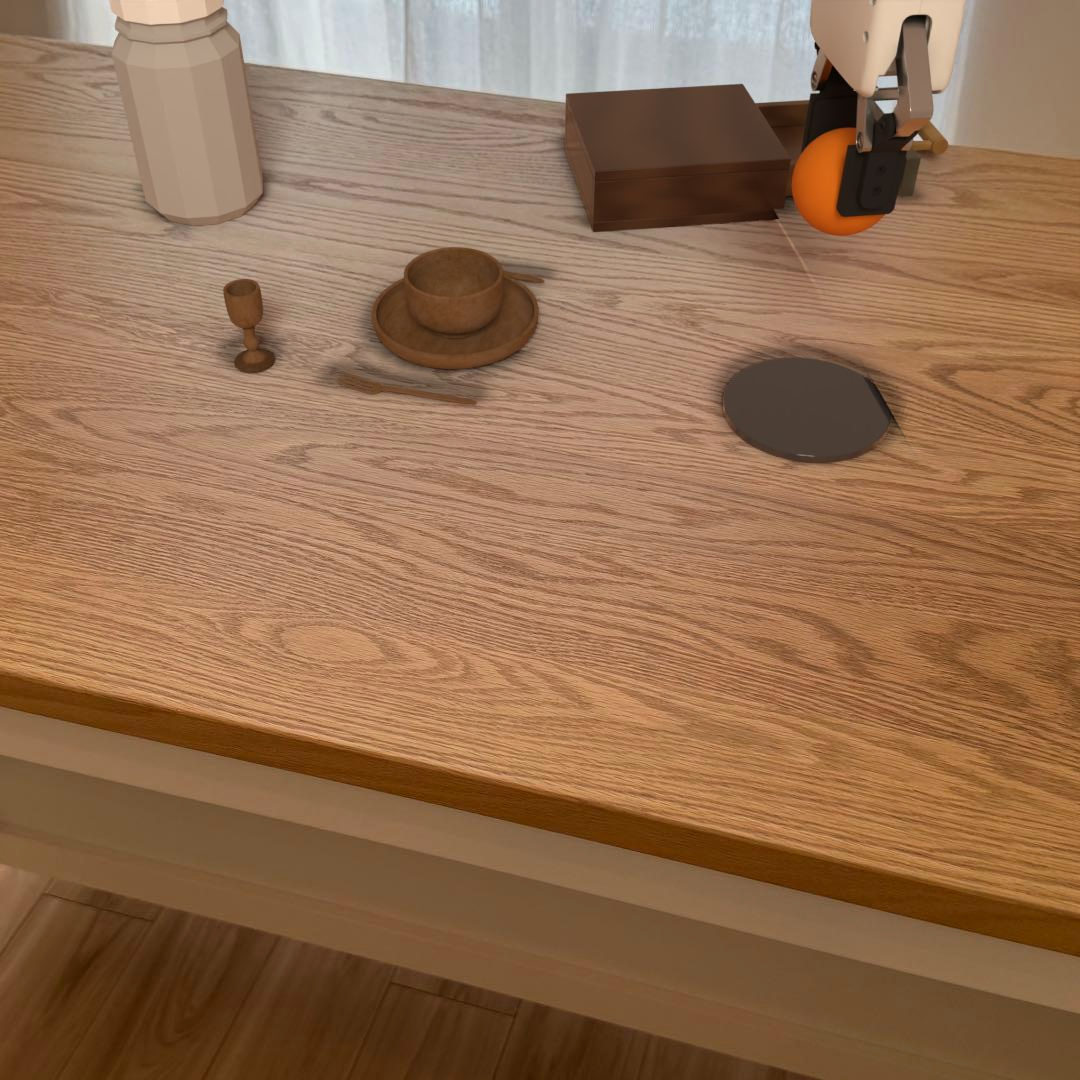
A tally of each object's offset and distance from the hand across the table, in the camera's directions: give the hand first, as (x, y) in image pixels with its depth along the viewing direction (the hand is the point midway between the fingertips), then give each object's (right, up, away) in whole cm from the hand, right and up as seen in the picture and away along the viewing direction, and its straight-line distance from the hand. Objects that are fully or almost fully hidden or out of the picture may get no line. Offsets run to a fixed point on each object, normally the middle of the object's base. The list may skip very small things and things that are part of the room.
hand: (845, 182), depth 72 cm
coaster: (0, -12, +11) cm, 16 cm away
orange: (0, -2, +2) cm, 3 cm away
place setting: (-28, -5, +19) cm, 34 cm away
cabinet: (-7, +10, +35) cm, 37 cm away
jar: (-45, +7, +32) cm, 56 cm away
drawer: (+7, +12, +36) cm, 38 cm away
